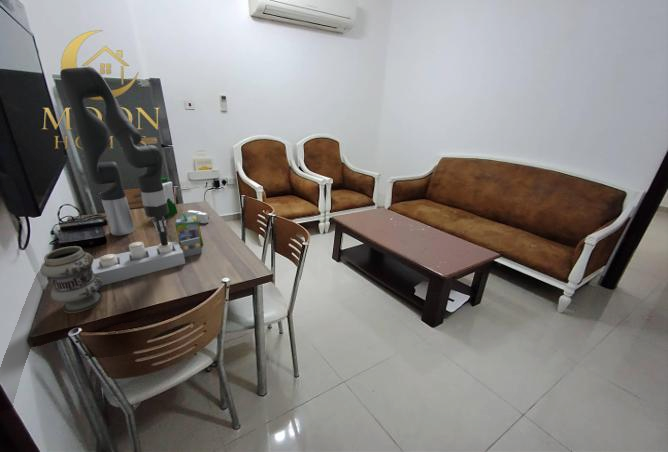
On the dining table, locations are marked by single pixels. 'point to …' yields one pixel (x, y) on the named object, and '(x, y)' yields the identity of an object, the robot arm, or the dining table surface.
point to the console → (138, 264)
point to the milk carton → (169, 197)
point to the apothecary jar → (72, 278)
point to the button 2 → (137, 250)
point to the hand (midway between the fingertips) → (164, 244)
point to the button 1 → (108, 260)
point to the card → (191, 247)
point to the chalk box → (188, 228)
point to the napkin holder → (199, 216)
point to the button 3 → (165, 248)
